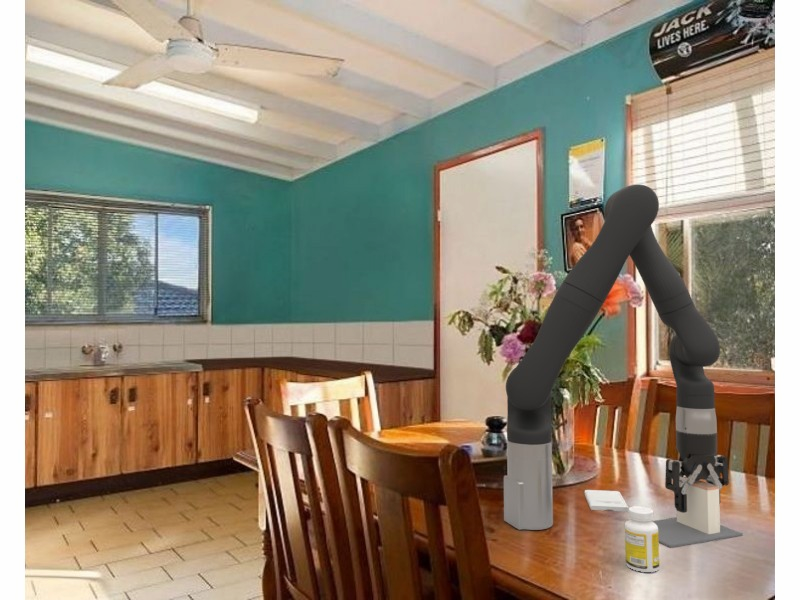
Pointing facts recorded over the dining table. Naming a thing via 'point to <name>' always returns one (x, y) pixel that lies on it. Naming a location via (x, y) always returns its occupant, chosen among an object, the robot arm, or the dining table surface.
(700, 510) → the slab
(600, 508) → the external hard drive
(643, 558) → the supplement bottle
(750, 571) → the dining table surface
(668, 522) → the mat
